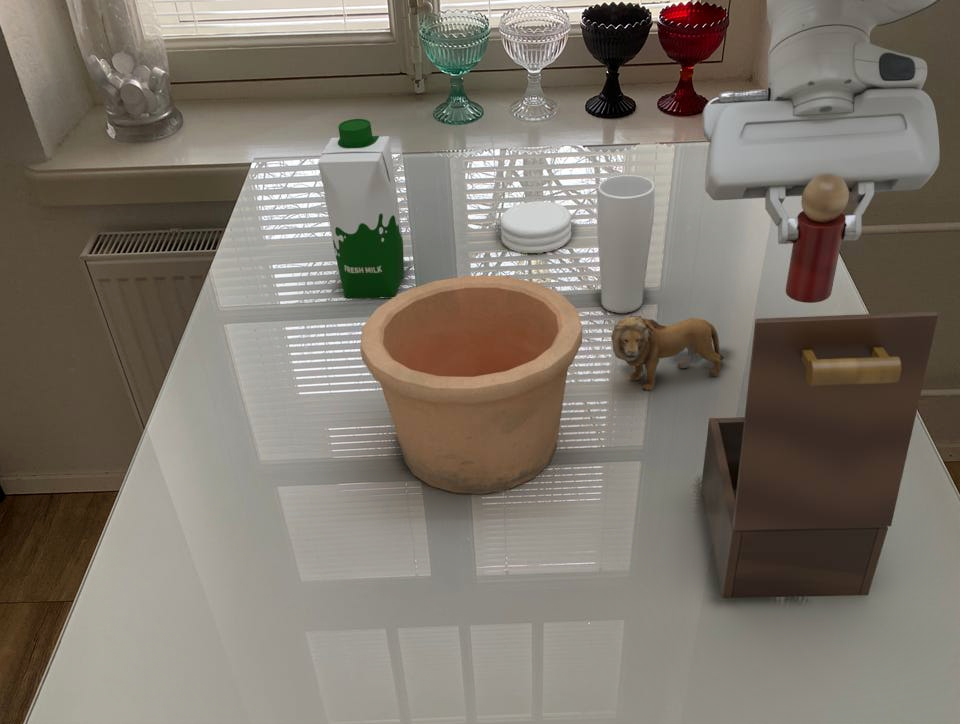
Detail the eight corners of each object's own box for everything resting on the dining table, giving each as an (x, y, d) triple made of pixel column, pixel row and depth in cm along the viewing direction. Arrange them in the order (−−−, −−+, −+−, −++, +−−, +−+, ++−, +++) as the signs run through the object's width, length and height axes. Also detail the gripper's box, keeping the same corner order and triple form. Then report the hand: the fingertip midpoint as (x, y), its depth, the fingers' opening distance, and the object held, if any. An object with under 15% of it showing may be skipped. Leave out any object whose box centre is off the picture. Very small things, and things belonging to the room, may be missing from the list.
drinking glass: (643, 320, 124) (650, 199, 113) (590, 315, 126) (591, 196, 115) (652, 294, 128) (659, 175, 117) (600, 290, 130) (603, 172, 119)
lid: (755, 318, 72) (767, 345, 68) (935, 311, 71) (958, 337, 67) (732, 525, 82) (742, 559, 78) (888, 521, 81) (906, 555, 77)
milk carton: (411, 270, 138) (392, 116, 123) (400, 302, 131) (379, 144, 117) (350, 271, 139) (324, 118, 124) (336, 302, 132) (307, 146, 118)
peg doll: (826, 280, 96) (848, 164, 88) (835, 302, 93) (859, 183, 85) (782, 282, 96) (800, 167, 88) (789, 304, 93) (808, 186, 85)
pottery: (367, 411, 114) (346, 294, 104) (552, 378, 116) (550, 260, 106) (395, 528, 99) (374, 405, 89) (606, 488, 101) (610, 364, 91)
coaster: (549, 260, 137) (549, 235, 134) (488, 247, 141) (486, 223, 138) (583, 231, 142) (583, 206, 140) (523, 219, 146) (522, 195, 144)
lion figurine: (622, 406, 111) (625, 333, 105) (600, 383, 115) (602, 312, 108) (735, 371, 115) (745, 299, 108) (710, 350, 118) (718, 279, 111)
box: (700, 491, 100) (709, 417, 94) (828, 488, 99) (845, 413, 93) (721, 607, 89) (732, 532, 82) (865, 604, 88) (888, 528, 81)
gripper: (707, 75, 88) (709, 232, 88) (946, 59, 86) (947, 220, 86) (697, 111, 94) (699, 258, 94) (919, 97, 92) (921, 247, 93)
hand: (819, 240), depth 90 cm, fingers closed on peg doll, 4 cm apart
